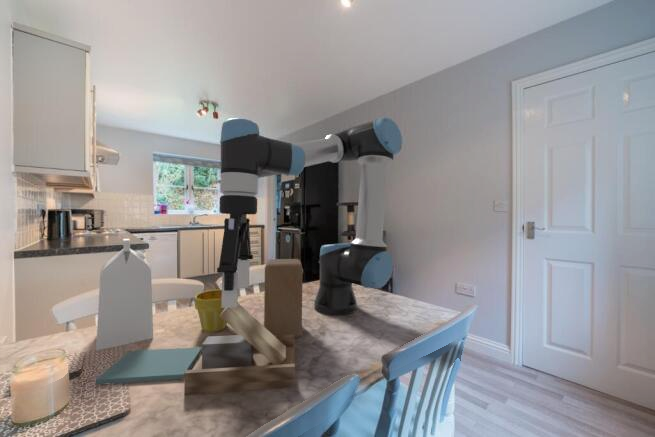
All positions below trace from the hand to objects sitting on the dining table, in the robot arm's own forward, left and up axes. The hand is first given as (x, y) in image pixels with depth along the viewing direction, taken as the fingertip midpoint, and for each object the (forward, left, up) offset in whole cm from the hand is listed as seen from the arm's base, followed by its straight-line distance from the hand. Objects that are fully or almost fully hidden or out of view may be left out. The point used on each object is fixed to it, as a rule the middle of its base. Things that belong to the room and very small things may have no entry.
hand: (237, 296), depth 56 cm
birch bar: (-3, 0, -9) cm, 9 cm away
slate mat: (+18, -4, -16) cm, 24 cm away
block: (-9, -18, -16) cm, 26 cm away
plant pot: (+11, -23, -16) cm, 30 cm away
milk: (+33, -20, -16) cm, 42 cm away
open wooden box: (-2, 0, -16) cm, 16 cm away
